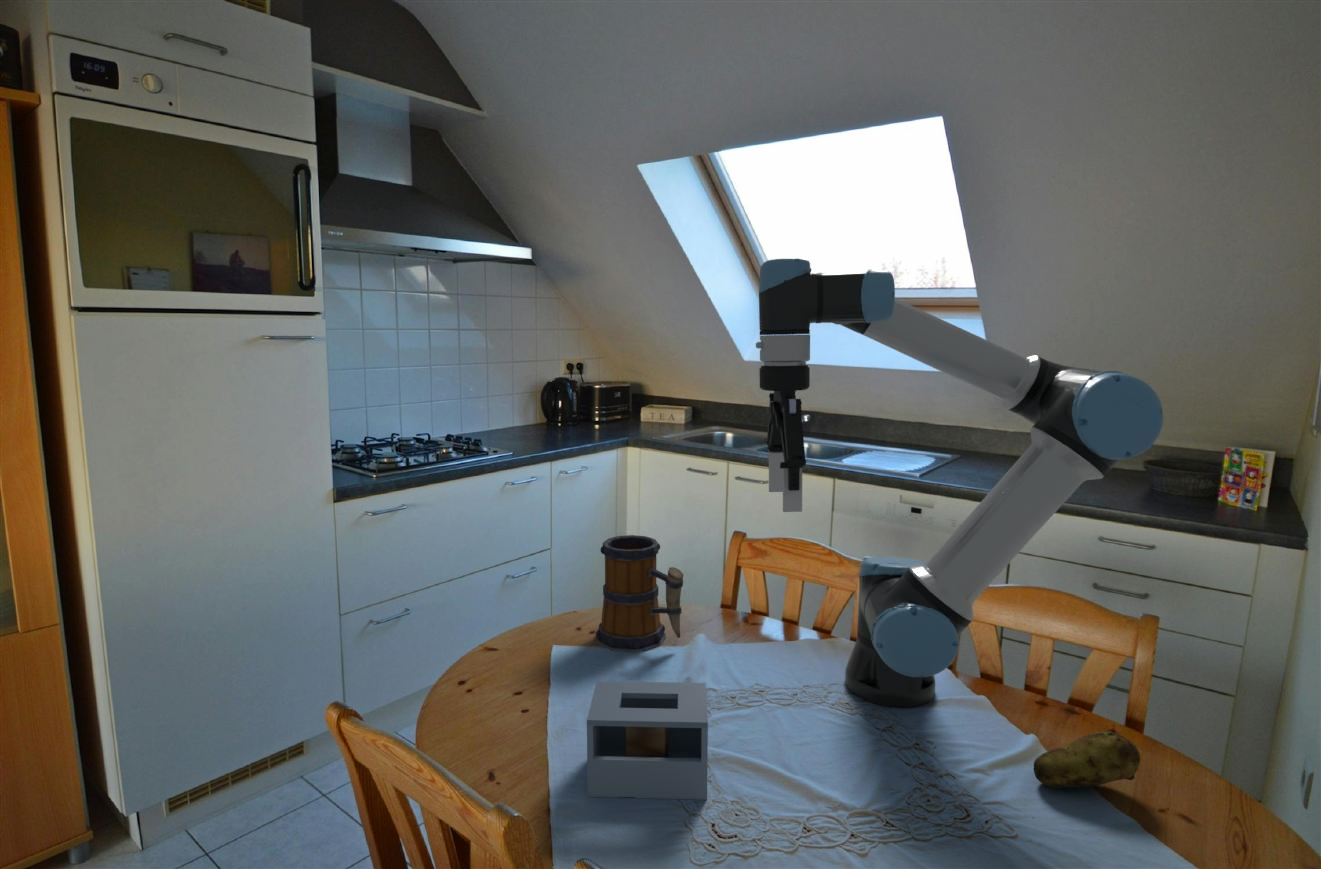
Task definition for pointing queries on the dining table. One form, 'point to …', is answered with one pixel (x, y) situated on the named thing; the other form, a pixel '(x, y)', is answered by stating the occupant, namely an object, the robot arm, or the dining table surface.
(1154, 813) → the dining table surface
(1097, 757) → the potato
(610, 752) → the coin box
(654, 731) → the brown wooden block
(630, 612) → the mug
